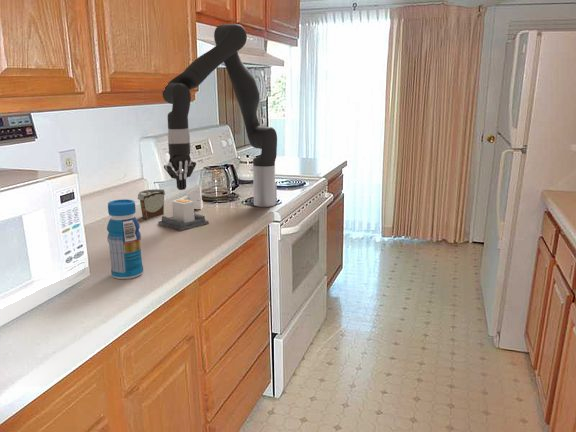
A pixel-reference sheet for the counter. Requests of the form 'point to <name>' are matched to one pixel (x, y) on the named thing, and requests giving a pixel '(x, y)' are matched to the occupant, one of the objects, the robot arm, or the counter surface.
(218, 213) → the counter surface
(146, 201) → the food container
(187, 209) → the block
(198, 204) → the white wedge bracket
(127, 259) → the beverage bottle
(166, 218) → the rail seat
